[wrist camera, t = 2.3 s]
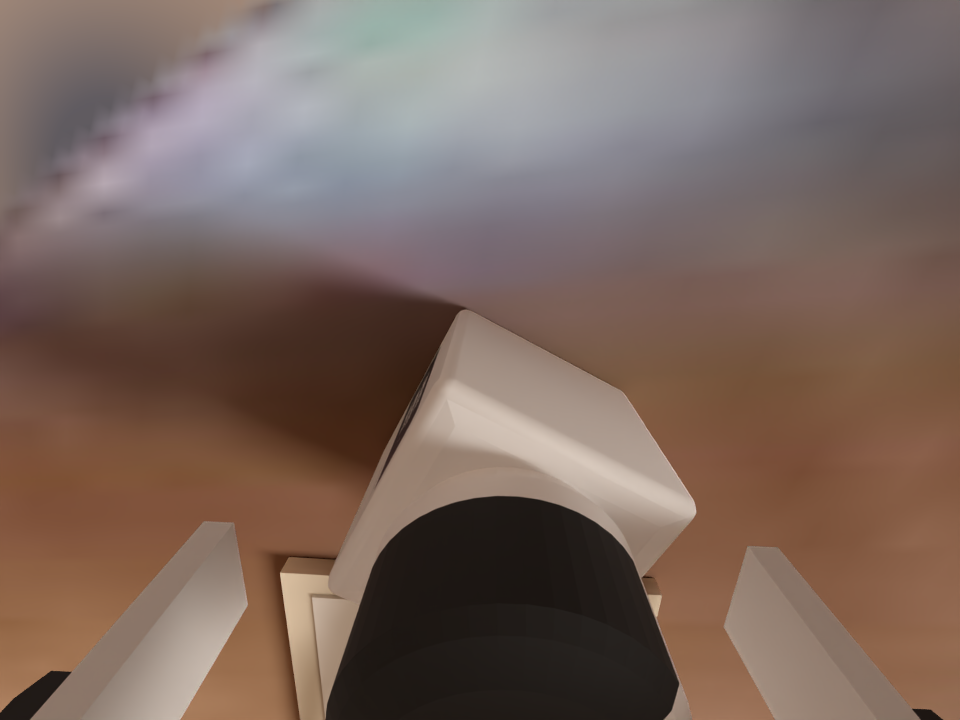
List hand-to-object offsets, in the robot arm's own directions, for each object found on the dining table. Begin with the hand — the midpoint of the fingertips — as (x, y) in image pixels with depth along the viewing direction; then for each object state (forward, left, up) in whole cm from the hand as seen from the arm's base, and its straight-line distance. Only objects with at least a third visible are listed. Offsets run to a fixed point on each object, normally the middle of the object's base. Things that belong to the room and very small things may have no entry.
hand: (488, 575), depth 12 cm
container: (0, 0, -9) cm, 9 cm away
